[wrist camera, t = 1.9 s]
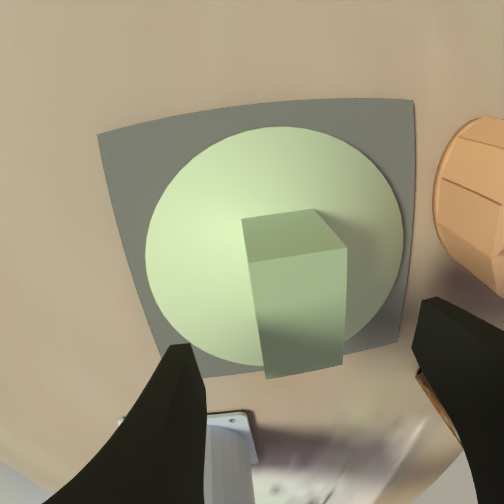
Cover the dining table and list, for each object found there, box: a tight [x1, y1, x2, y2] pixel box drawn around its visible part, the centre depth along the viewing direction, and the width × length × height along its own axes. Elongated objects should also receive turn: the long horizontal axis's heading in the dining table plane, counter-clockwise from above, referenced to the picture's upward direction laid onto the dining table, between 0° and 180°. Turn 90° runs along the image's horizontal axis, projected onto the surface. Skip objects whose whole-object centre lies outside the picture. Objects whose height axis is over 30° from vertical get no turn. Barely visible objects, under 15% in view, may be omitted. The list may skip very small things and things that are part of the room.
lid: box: [145, 126, 403, 379], centre depth 13 cm, size 12×12×5 cm
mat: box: [97, 98, 415, 378], centre depth 15 cm, size 14×14×1 cm
